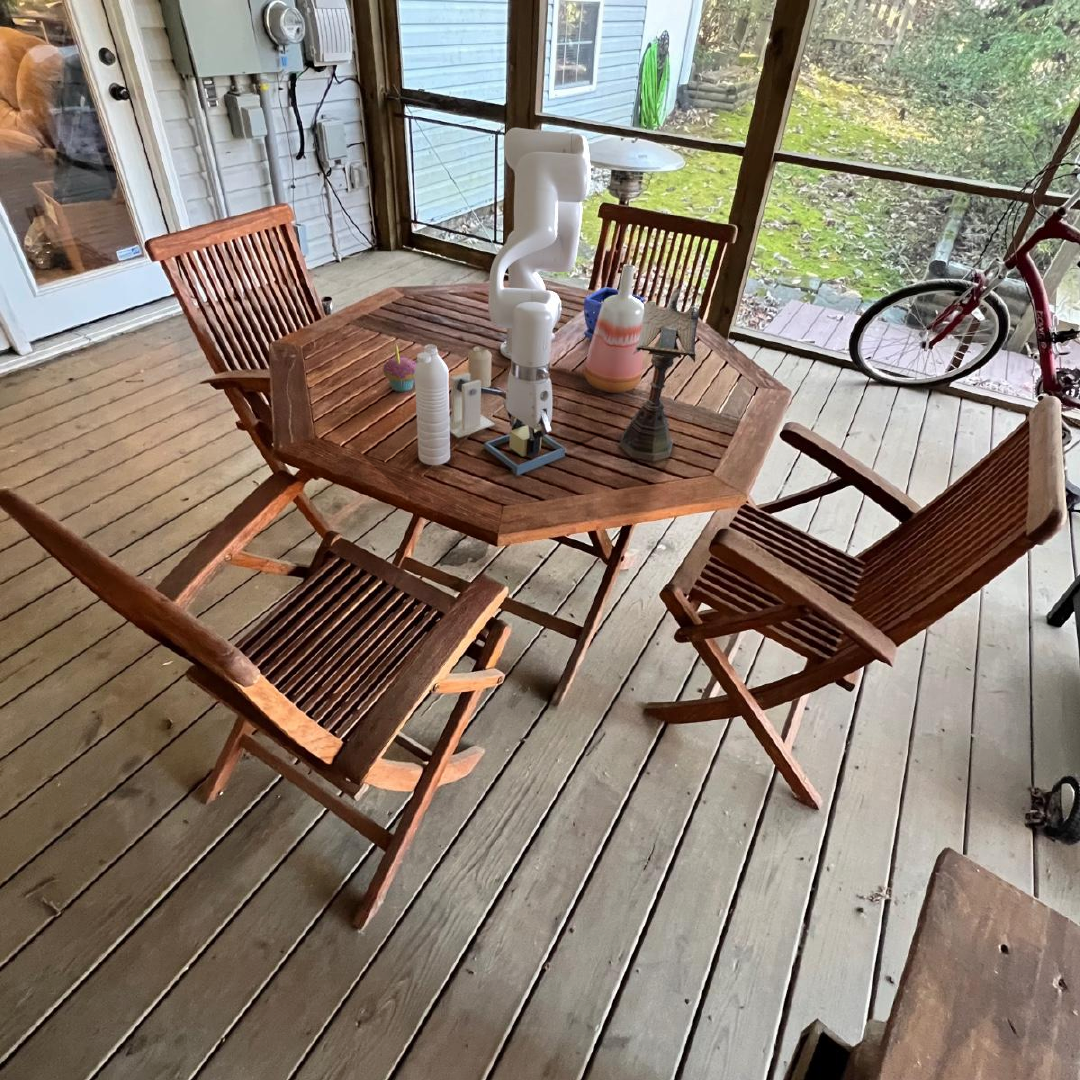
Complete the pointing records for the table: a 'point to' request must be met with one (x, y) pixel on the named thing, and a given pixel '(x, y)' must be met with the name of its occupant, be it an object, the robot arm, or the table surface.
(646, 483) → the table surface
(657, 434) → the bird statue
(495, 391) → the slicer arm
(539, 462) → the dish
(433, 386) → the water bottle
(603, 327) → the vase
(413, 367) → the cupcake
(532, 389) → the robot arm
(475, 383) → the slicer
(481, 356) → the candle
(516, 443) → the butter
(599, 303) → the flower pot
